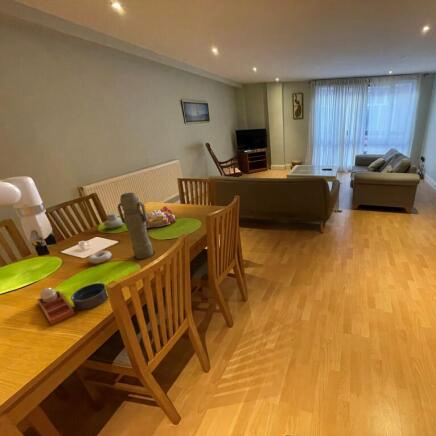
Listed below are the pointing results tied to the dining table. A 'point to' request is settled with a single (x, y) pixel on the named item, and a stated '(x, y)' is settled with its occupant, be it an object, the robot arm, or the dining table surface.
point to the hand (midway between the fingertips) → (48, 249)
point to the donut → (99, 257)
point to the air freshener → (112, 221)
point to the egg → (48, 295)
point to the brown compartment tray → (56, 309)
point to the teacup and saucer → (89, 247)
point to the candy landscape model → (159, 218)
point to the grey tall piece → (136, 224)
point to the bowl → (89, 296)
